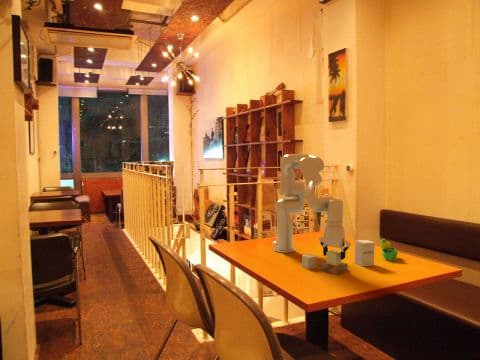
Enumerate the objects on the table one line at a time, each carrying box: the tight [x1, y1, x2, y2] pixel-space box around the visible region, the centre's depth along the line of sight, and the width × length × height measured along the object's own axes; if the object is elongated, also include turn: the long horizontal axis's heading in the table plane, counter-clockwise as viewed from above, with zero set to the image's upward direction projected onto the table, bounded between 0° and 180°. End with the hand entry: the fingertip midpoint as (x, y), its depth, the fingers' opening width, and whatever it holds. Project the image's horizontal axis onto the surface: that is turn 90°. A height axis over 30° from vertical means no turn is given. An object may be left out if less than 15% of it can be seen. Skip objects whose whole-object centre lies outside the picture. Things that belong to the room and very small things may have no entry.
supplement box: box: [354, 239, 375, 268], centre depth 202 cm, size 7×7×13 cm
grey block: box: [301, 253, 318, 270], centre depth 197 cm, size 6×6×6 cm
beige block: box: [325, 249, 343, 266], centre depth 191 cm, size 6×6×6 cm
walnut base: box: [319, 261, 349, 276], centre depth 192 cm, size 10×10×4 cm
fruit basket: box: [379, 238, 399, 262], centre depth 215 cm, size 11×9×11 cm
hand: (334, 257), depth 191 cm, fingers open, 9 cm apart
